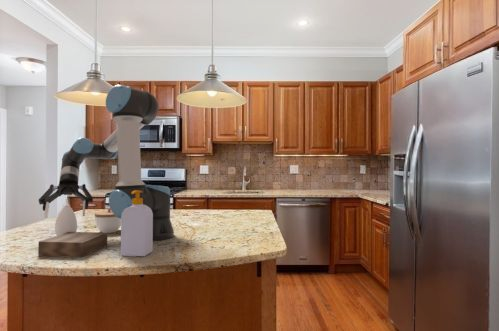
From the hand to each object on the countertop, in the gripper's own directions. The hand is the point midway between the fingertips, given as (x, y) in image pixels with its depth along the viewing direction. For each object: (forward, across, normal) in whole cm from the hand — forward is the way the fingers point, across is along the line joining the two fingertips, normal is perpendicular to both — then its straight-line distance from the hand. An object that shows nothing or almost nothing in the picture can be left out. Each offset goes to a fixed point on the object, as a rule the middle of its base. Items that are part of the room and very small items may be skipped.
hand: (65, 215), depth 126 cm
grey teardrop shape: (+9, 0, -7) cm, 11 cm away
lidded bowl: (-2, -17, -18) cm, 24 cm away
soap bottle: (+31, -25, +15) cm, 43 cm away
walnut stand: (+20, -5, +5) cm, 21 cm away
